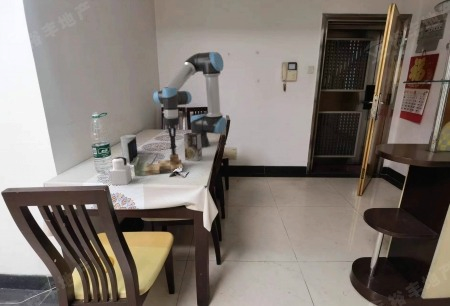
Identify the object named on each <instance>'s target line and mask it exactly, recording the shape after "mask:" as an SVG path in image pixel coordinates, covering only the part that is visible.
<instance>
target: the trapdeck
mask: <svg viewBox="0 0 450 306" xmlns="http://www.w3.org/2000/svg"><path fill="white" fill-rule="evenodd" d="M179 166H180V168H183V169H184V167H183V163H182V159H181V158H180V159H179V164H176V165H170V159H167V160H166V159H165V160H158V161H157V163H152V164H147V162H140V161H139V157H137V159H136V162H135V164H134V165H133V171H134V172H133V173H134V177H141V176H142V175H143V176H152V175H153V176H154V174H155V175H165V174H173V173H172V172H173V171H174V170H175V169H177V168H179ZM143 176H142V177H143Z"/></svg>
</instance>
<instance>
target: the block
mask: <svg viewBox="0 0 450 306" xmlns="http://www.w3.org/2000/svg"><path fill="white" fill-rule="evenodd" d="M169 160H170V165H176V164H179V154H178V153H176V154H173V155H171V154H169Z"/></svg>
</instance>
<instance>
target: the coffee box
mask: <svg viewBox="0 0 450 306" xmlns="http://www.w3.org/2000/svg"><path fill="white" fill-rule="evenodd" d="M183 142H184V144H183V145H184V160H185V161H194V162H199V161H201V160H202V159H203V147H202V140H201V133H191V132H185V133H184V134H183Z"/></svg>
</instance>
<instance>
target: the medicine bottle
mask: <svg viewBox="0 0 450 306" xmlns="http://www.w3.org/2000/svg"><path fill="white" fill-rule="evenodd" d="M111 163H112V169H110V170H109V174H110V181H111V186H121V185H122V186H123V185H124V186H126V185H128V184H130V182H131V180H132V169H131V168H132V167H131V165H130V164H129V165H128V163H127V158H126V156H118V157H117V156H115V157H114V158H112V160H111Z"/></svg>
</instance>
